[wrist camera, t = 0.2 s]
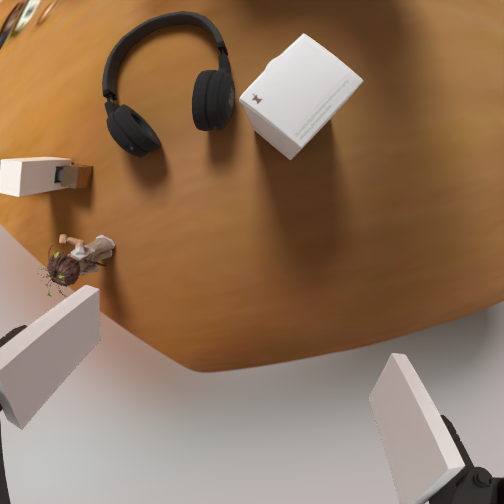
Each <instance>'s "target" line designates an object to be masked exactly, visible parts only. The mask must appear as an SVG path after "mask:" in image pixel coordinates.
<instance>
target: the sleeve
mask: <svg viewBox="0 0 504 504" xmlns="http://www.w3.org/2000/svg"><path fill="white" fill-rule="evenodd" d="M71 162H72V159H65V158H56V157H35V158H17V159H3V160H1V165H0V193H3V194H8V195H12V196H17V197H22V196H27V195H32V194H37V193H42V192H48V191H53V190H59V189H65V188H68V187H63V186H61V180H55V172H56V169H63V165H71Z"/></svg>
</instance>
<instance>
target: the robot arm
mask: <svg viewBox="0 0 504 504" xmlns="http://www.w3.org/2000/svg"><path fill="white" fill-rule="evenodd" d="M100 341H101V330H100V302H99V289H97V288H94V287H91V286H88V285H85V286H83V287H82V288H80V289H79V290H77V291H76V292H75V293H73V294H72V295H70V296H69V297H68V298H66V299H65V300H63V301H62V302H60V303H59V304H58V305H56V306H55V307H53V308H52V309H51V310H50V311H48V312H47V313H46V314H44V315H43V316H41V317H40V318H39V319H37V320H36V321H35V322H33V323H32V324H30V325H29V326H26V325H23V326H20V327H18V328H15V329H13V330H12V331H10V332H9V333H8V334H6V336H5V337H2V338H1V339H0V411H1V410H2V409H3V411H4V413H5V416H6V418H7V420H9V421H10V422H11V423H13V424H14V425H16V426H17V427H19V428H20V429H23V428H24V427H25V426H26V425H27V423H28V422H29V421H30V420H31V418H32V417H33V416H34V415H35V414H36V413H37V411H38V410H39V409H40V408H41V407H42V406H43V404H44V403H45V402H46V401H47V400H48V399H49V397H50V396H51V395H52V394H53V393H54V392H55V390H56V389H57V388H58V387H59V386H60V385H61V384H62V382H63V381H64V380H65V379H66V378H67V377H68V375H70V373H71V372H72V371H73V370H74V369H75V368H76V366H77V365H79V363H80V362H81V361H82V360H83V359H84V358H85V357H86V356H87V355H88V354H89V352H90V351H91V350H92V349H93V348H94V347H95V346H96V345H97V344H98V342H100ZM368 399H369V402H370V405H371V408H372V411H373V414H374V417H375V421H376V424H377V427H378V429H379V433H380V436H381V440H382V443H383V446H384V449H385V453H386V456H387V460H388V463H389V466H390V470H391V473H392V477H393V481H394V484H395V488H396V492H397V496H398V499H399V503H400V504H425V503H426V502H427V501H429V504H504V478H493V477H492V475H491V474H490V473H489V472H488V471H487V470H486V469H484V468H481V467H474V465H473V463H472V461H471V459H470V457H469V455H468V454H467V451H466V449H465V448H464V445H463V444H462V442H461V441H460V438H459V436H458V434H456V430H455V428H454V427H453V425H452V423H451V422H450V421H449V420H448V419H447V418H446V417H445V416H444V415H440V414H439V412H438V411H437V409H436V407H435V405H434V403H433V401H432V400H431V398H430V396H429V394H428V392H427V391H426V389H425V387H424V385H423V384H422V382H421V380H420V378H419V377H418V375H417V373H416V372H415V370H414V368H413V366H412V365H411V363H410V361H409V360H408V358H407V356H406V355H405V354H396V353H391V355H390V357H389V359H388V361H387V364H386V366H385V367H384V369H383V371H382V373H381V375H380V377H379V379H378V381H377V383H376V385H375V387H374V388H373V390H372V392H371V394H370V396H369V397H368ZM0 504H11V503H10V498H9V493H8V488H7V482H6V477H5V470H4V462H3V453H2V442H1V424H0Z"/></svg>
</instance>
